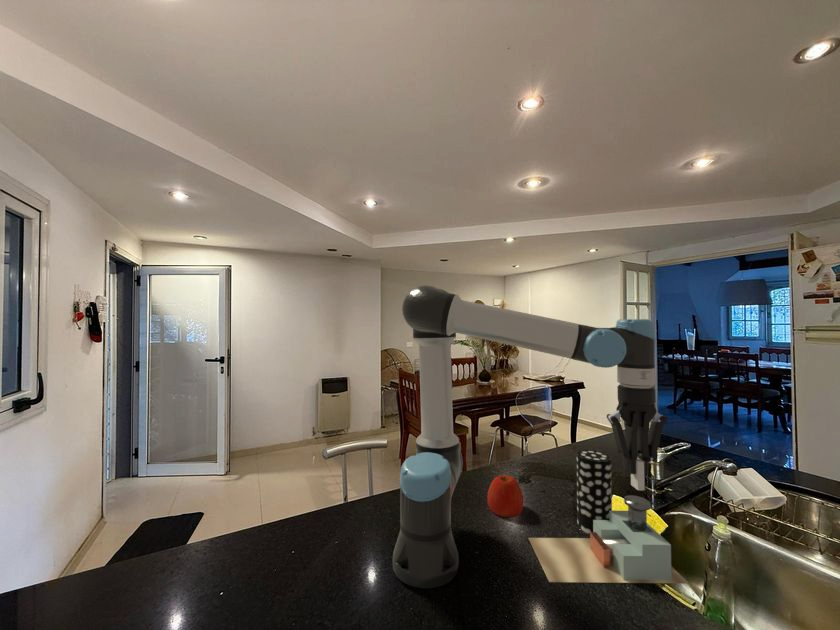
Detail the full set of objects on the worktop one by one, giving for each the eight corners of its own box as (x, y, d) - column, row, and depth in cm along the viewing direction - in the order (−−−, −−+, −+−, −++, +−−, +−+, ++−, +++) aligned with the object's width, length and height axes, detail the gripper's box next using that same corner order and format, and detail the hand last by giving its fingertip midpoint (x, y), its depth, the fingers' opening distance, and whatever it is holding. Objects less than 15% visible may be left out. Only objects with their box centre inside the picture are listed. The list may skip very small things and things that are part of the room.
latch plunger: (632, 532, 79) (632, 506, 79) (619, 519, 84) (619, 495, 84) (656, 533, 78) (655, 506, 79) (641, 519, 84) (641, 495, 84)
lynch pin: (603, 567, 78) (603, 549, 78) (590, 548, 84) (590, 532, 85) (664, 568, 78) (664, 549, 78) (646, 549, 84) (646, 532, 84)
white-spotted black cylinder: (616, 542, 88) (616, 462, 89) (581, 538, 90) (580, 460, 90) (606, 523, 97) (605, 450, 97) (574, 520, 98) (573, 448, 99)
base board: (549, 586, 74) (549, 581, 74) (528, 541, 89) (528, 537, 89) (688, 587, 73) (688, 583, 73) (643, 542, 88) (643, 538, 88)
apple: (508, 500, 109) (508, 466, 109) (531, 517, 100) (531, 480, 100) (480, 507, 105) (480, 472, 105) (501, 526, 96) (501, 487, 96)
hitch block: (623, 579, 74) (623, 544, 75) (593, 540, 88) (593, 510, 88) (671, 580, 74) (670, 544, 74) (633, 540, 88) (633, 510, 88)
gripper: (616, 388, 78) (618, 495, 78) (675, 388, 78) (677, 495, 77) (599, 382, 85) (601, 480, 85) (653, 382, 85) (655, 480, 85)
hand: (637, 487), depth 81 cm, fingers closed
